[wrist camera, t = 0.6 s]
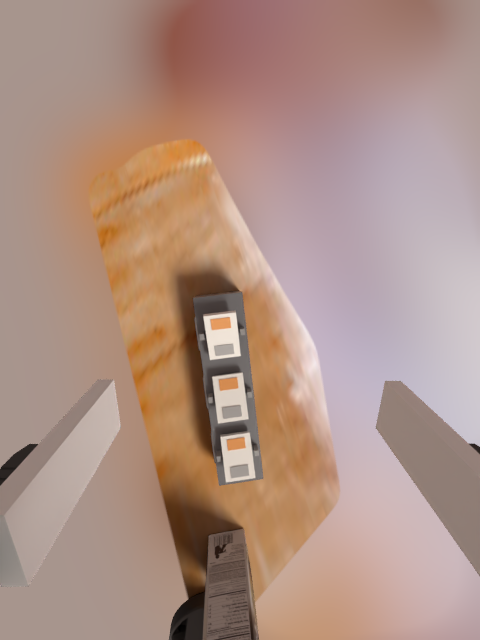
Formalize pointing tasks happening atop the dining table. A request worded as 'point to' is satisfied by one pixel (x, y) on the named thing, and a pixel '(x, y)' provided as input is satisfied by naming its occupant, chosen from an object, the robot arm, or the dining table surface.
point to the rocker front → (222, 334)
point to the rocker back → (237, 456)
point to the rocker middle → (230, 397)
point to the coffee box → (229, 589)
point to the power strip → (227, 366)
